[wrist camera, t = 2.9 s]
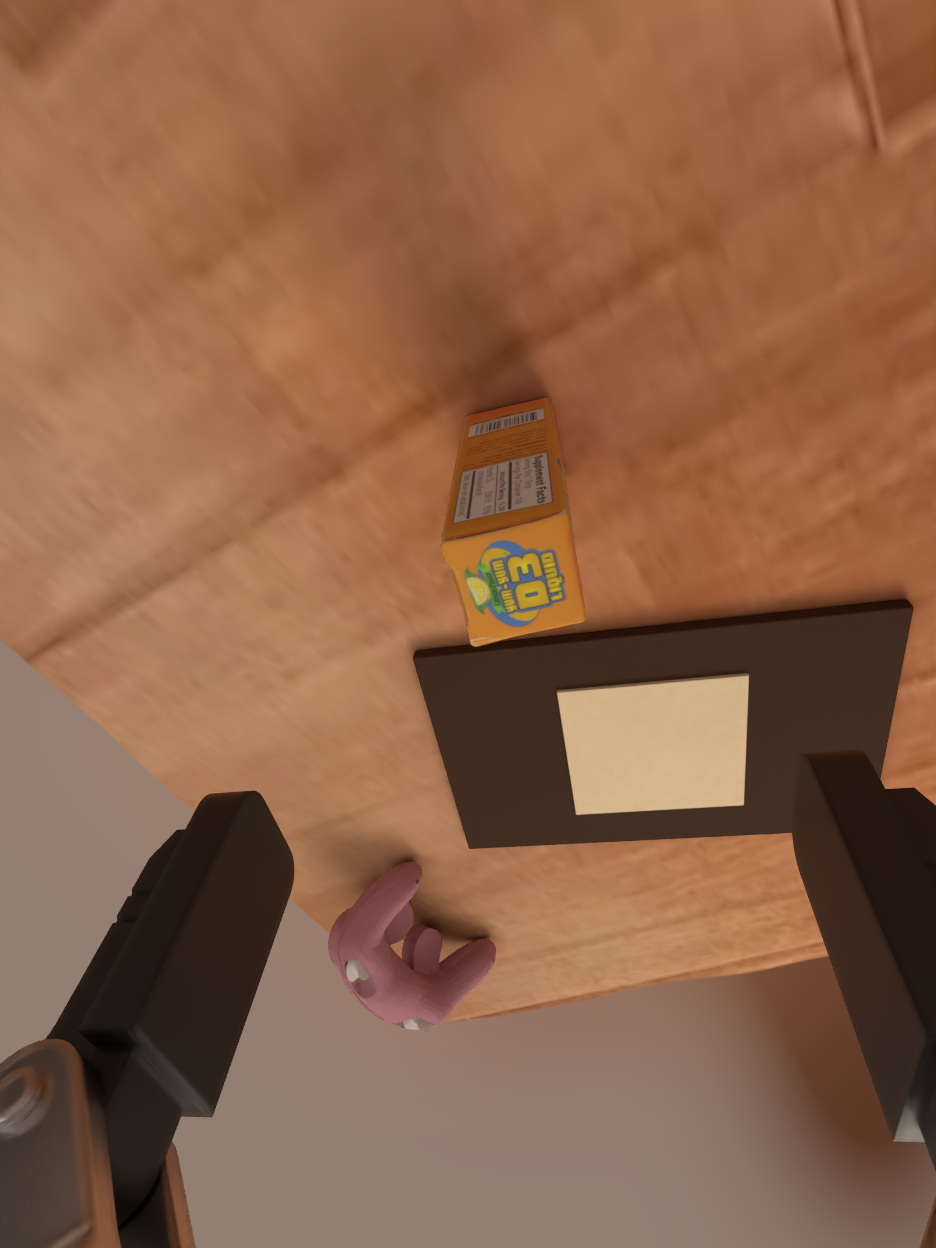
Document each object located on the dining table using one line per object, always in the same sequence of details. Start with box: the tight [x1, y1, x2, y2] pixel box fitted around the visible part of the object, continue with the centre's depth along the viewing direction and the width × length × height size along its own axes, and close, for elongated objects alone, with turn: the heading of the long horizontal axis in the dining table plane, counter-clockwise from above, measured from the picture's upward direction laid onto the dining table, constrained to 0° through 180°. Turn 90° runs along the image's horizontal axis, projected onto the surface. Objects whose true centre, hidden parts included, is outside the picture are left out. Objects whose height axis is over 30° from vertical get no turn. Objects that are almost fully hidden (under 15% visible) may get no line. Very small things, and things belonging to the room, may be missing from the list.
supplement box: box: [440, 397, 585, 647], centre depth 21 cm, size 3×3×10 cm
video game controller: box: [328, 861, 496, 1032], centre depth 40 cm, size 10×5×7 cm, turn 31°
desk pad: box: [413, 600, 913, 849], centre depth 32 cm, size 20×13×1 cm, turn 101°
